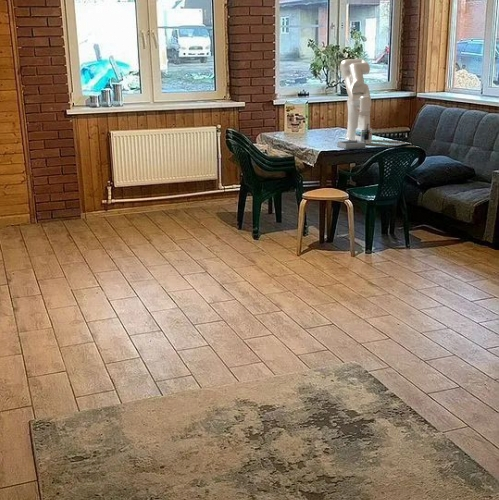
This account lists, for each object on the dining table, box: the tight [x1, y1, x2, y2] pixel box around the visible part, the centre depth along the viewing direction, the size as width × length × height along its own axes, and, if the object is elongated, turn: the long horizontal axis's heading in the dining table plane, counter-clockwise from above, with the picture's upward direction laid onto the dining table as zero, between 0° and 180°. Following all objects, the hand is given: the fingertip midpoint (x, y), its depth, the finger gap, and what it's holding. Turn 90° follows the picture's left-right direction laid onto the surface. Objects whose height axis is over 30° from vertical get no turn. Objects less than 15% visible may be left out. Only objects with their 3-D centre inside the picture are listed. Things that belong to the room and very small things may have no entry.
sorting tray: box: [337, 140, 367, 150], centre depth 494 cm, size 12×16×4 cm
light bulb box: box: [354, 127, 373, 145], centre depth 508 cm, size 11×7×11 cm, turn 125°
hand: (363, 138), depth 508 cm, fingers closed on light bulb box, 7 cm apart
